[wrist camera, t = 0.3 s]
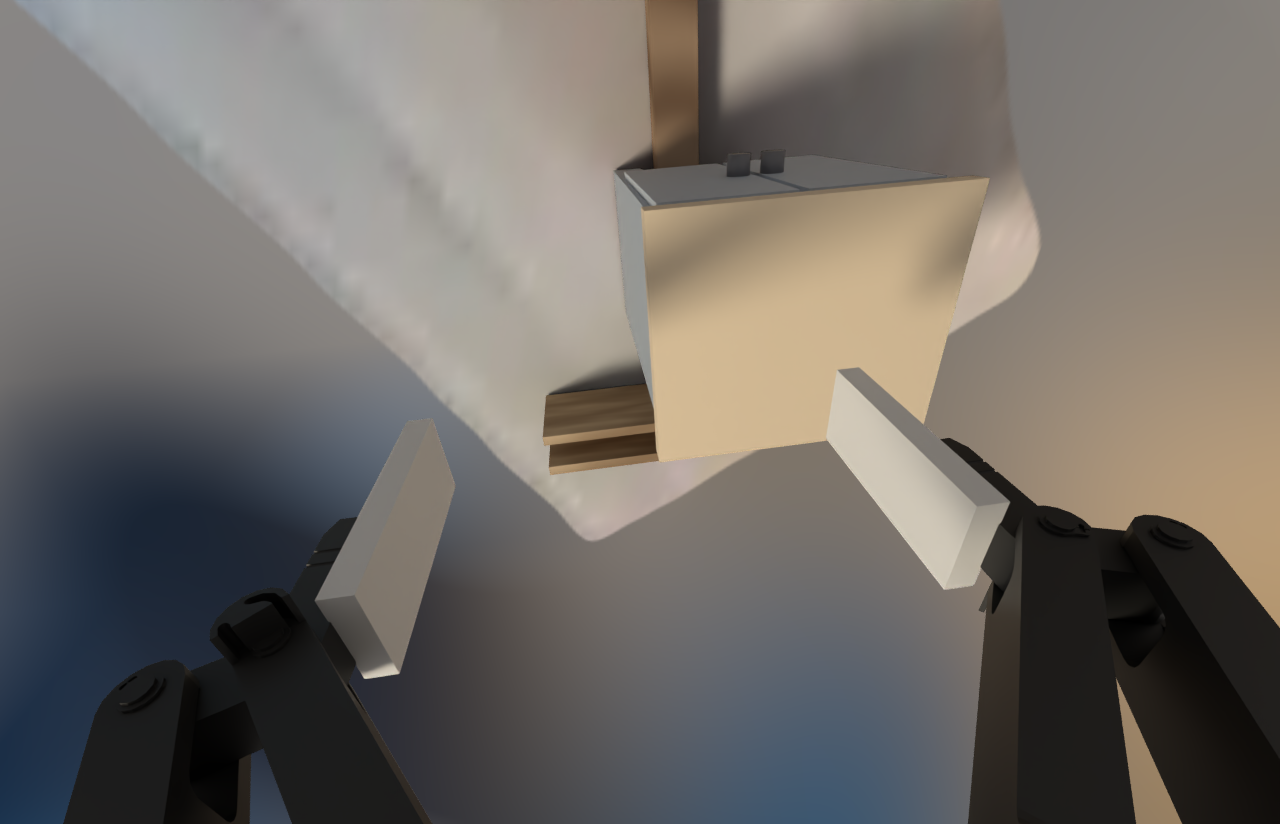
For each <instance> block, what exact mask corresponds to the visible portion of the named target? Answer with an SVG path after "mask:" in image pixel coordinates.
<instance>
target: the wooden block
mask: <svg viewBox="0 0 1280 824" xmlns="http://www.w3.org/2000/svg"><path fill="white" fill-rule="evenodd" d="M645 9H646V29H647V49H648V69H649V89H650V109H651V129H652V149H653V169H659V168H670V167H681V166H692V165H699V122H698V0H645Z"/></svg>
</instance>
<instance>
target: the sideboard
mask: <svg viewBox="0 0 1280 824" xmlns="http://www.w3.org/2000/svg"><path fill="white" fill-rule="evenodd" d="M989 180H990V178H987V177H980V176H973V175H972V176H962V177H951V178H947V175H940V174H934V173H927V172H921V171H914V170H908V169H901V168H895V167H888V166H882V165H875V164H869V163H862V162H856V161H849V160H843V159H836V158H830V157H823V156H817V155H804V156H793V157H785V150H766V151H761V159H759V160H751V153H733V154H727V162H726V163H722V165H720V164H717V163H715V164H703V165H692V166H681V167H670V168H659V169H648V170H642V169H641V168H637V169H626V170H615V171H614V182H615V193H616V205H617V216H618V227H619V239H620V250H621V262H622V273H623V284H624V296H625V307H626V314H627V318H628V321H629V325H630V328H631V332H632V335H633V338H634V342H635V345H636V349H637V352H638V356H639V359H640V363H641V366H642V370H643V373H644V377H645V380H646V384H647V387H648V390H649V394H650V397H651V401H652V404H653V408H654V420H655V435H656V451H657V455H658V459H659V462H666V461H674V460H681V459H689V458H697V457H704V456H712V455H720V454H727V453H735V452H743V451H750V450H758V449H765V448H773V447H781V446H788V445H796V444H804V443H811V442H819V441H826V440H827V439H826V434H827V428H828V422H829V416H830V410H831V403H832V397H833V391H834V385H835V379H836V372H837V370H840V369H848V368H857V367H859V368H861V369H862V370H863V371H864V372H865V373H866V374H867V375H868V376H870V377H871V378H872V379H873V380H874V381H875V382H876V383H877V384H879V385H880V386H881V387H882V388H883V389H884V390H885V391H886V392H888V393H889V394H890V395H891V396H892V397H893V398H894V399H895V400H897V401H898V402H899V403H900V404H901V405H902V406H903V407H904V408H906V409H907V410H908V411H909V412H910V413H911V414H912V415H913V416H914V417H916V418H917V419H918V420H919V421H920V422H921V423H922V424H924V421H925V417H926V413H927V410H928V406H929V402H930V399H931V395H932V391H933V387H934V384H935V380H936V376H937V372H938V369H939V365H940V362H941V358H942V354H943V350H944V347H945V343H946V339H947V336H948V332H949V328H950V325H951V321H952V317H953V313H954V310H955V306H956V302H957V299H958V295H959V291H960V288H961V284H962V280H963V277H964V273H965V269H966V265H967V262H968V258H969V254H970V251H971V247H972V243H973V240H974V236H975V232H976V228H977V225H978V221H979V217H980V214H981V210H982V206H983V203H984V199H985V195H986V191H987V188H988V184H989Z"/></svg>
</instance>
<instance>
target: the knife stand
mask: <svg viewBox="0 0 1280 824" xmlns="http://www.w3.org/2000/svg"><path fill="white" fill-rule="evenodd" d="M543 441H544V446H546V445H550V458H549V470H550V475H554V474H561V473H569V472H577V471H584V470H592V469H600V468H607V467H615V466H623V465H630V464H638V463H646V462H653V461H659V459H658V455H657V451H656V435H655V420H654V408H653V404H652V401H651V397H650V394H649V390H648V387H647V384H639V385H631V386H622V387H614V388H606V389H597V390H589V391H580V392H572V393H564V394H555V395H547V396H546V405H545V417H544V429H543Z"/></svg>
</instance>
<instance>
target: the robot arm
mask: <svg viewBox="0 0 1280 824" xmlns="http://www.w3.org/2000/svg"><path fill="white" fill-rule="evenodd" d="M826 439H827V440H828V441H829V443H830V444H831V445H832V447H833V448H834V449H835V450H836V452H837V453H838V454H839V456H840V457H841V458H842V459H843V461H844V462H845V463H846V465H848V467H849V468H850V470H851V471H852V472H853V473H854V475H855V476H856V477H857V479H858V480H859V481H860V482H861V484H862V485H863V486H864V487H865V489H866V490H867V491H868V493H869V494H870V495H871V497H872V498H873V499H874V500H875V501H876V503H877V504H878V506H879V507H880V508H881V509H882V511H883V512H884V513H885V514H886V516H887V517H888V518H889V520H890V521H891V522H892V523H893V525H894V526H895V527H896V529H897V530H898V531H899V532H900V534H901V535H902V536H903V538H904V539H905V540H906V541H907V543H908V544H909V545H910V546H911V548H912V549H913V550H914V552H915V553H916V554H917V555H918V557H919V558H920V559H921V561H922V562H923V563H924V564H925V566H926V567H927V568H928V570H929V571H930V572H931V573H932V575H933V576H934V577H935V579H936V580H937V581H938V582H939V584H940V585H941V586H942V587H943V589H944V590H946V589H953V588H960V587H966V586H972V585H974V583H975V581H976V579H977V577H978V574H979V572H980V570H981V568H982V569H983V570H984V572H985V573H986V574H987V575H988V576H989V577H990V578H991V579H992V583H991V585H990V587H989V589H988V591H987V593H986V596H985V598H984V600H983V602H982V604H981V606H980V608H979V611H981V612H984V611H985V609H986V619H985V630H984V642H983V654H982V666H981V677H980V689H979V701H978V713H977V725H976V736H975V748H974V760H973V772H972V783H971V795H970V806H969V819H968V824H1136V820H1135V813H1134V806H1133V798H1132V791H1131V784H1130V777H1129V769H1128V762H1127V755H1126V748H1125V740H1124V734H1123V727H1122V719H1121V712H1120V704H1119V697H1118V690H1117V683H1116V678H1117V680H1118V683H1119V685H1120V687H1121V689H1122V692H1123V694H1124V696H1125V698H1126V700H1127V703H1128V705H1129V707H1130V709H1131V711H1132V713H1133V716H1134V718H1135V720H1136V723H1137V724H1138V727H1139V729H1140V731H1141V733H1142V736H1143V738H1144V740H1145V742H1146V745H1147V747H1148V749H1149V751H1150V754H1151V756H1152V758H1153V760H1154V762H1155V765H1156V767H1157V769H1158V771H1159V773H1160V776H1161V778H1162V780H1163V782H1164V785H1165V787H1166V789H1167V791H1168V793H1169V795H1170V798H1171V800H1172V802H1173V804H1174V807H1175V809H1176V811H1177V813H1178V816H1179V818H1180V820H1181V822H1182V824H1280V628H1279V626H1278V625H1277V624H1276V623H1275V621H1274V620H1273V619H1272V618H1271V616H1270V615H1269V614H1268V613H1267V611H1266V610H1265V609H1264V607H1263V606H1262V605H1261V604H1260V602H1258V600H1257V599H1256V597H1255V596H1254V595H1253V594H1252V592H1251V591H1250V590H1249V589H1248V587H1247V586H1246V585H1245V584H1244V582H1243V581H1242V580H1241V579H1240V577H1239V576H1238V575H1237V574H1236V572H1235V571H1234V570H1233V568H1232V567H1231V566H1230V565H1229V564H1228V562H1227V561H1226V560H1225V558H1224V557H1223V556H1222V555H1221V554H1220V552H1219V551H1218V550H1217V548H1216V547H1215V546H1214V545H1213V543H1212V542H1211V541H1209V540H1208V539H1207V538H1206V537H1205V536H1204V535H1203V534H1202V533H1200V532H1198V531H1197V530H1195V529H1193V528H1192V527H1190V526H1188V525H1186V524H1184V523H1182V522H1178V521H1176V520H1173V519H1170V518H1166V517H1161V516H1157V515H1142V516H1138V517H1135V518H1134V519H1133V521H1132V522H1131V524H1130V526H1129V527H1128V529H1127V530H1126V531H1122V530H1112V529H1102V528H1091V527H1090V526H1089V525H1088V524H1087V523H1086V522H1085V521H1084V520H1082V519H1081V518H1079V517H1077V516H1076V515H1074V514H1072V513H1070V512H1067V511H1065V510H1062V509H1059V508H1055V507H1050V506H1037V505H1036V504H1035V503H1033V501H1031V500H1030V499H1029V498H1028V497H1027V496H1025V495H1024V494H1023V493H1022V492H1021V491H1020V490H1018V489H1017V488H1016V487H1015V486H1014V485H1013V484H1011V483H1010V482H1009V481H1008V480H1007V479H1005V478H1004V477H1003V476H1002V475H1001V474H999V473H998V472H995V471H994V468H992V467H991V466H990V465H989V464H988V463H986V462H983V459H982V458H981V457H979V456H978V455H977V454H976V453H975V452H974V451H972V450H971V449H970V448H969V447H967V446H965V445H962V444H961V443H959V442H957V441H955V440H953V439H951V438H945V439H939V438H938V437H937V436H936V435H935V434H934V433H932V432H931V431H930V430H929V429H928V428H927V427H926V426H925V425H923V424H922V423H921V422H920V421H919V420H918V419H917V418H916V417H914V416H913V415H912V414H911V413H910V412H909V411H908V410H907V409H906V408H904V407H903V406H902V405H901V404H900V403H899V402H898V401H897V400H895V399H894V398H893V397H892V396H891V395H890V394H889V393H888V392H886V391H885V390H884V389H883V388H882V387H881V386H880V385H879V384H877V383H876V382H875V381H874V380H873V379H872V378H871V377H870V376H868V375H867V374H866V373H865V372H864V371H863V370H862V369H861V368H859V367H857V368H848V369H840V370H837V372H836V379H835V385H834V391H833V397H832V403H831V410H830V416H829V422H828V428H827V434H826ZM454 489H455V483H454V480H453V477H452V474H451V471H450V468H449V466H448V463H447V460H446V457H445V454H444V451H443V448H442V445H441V442H440V439H439V436H438V434H437V431H436V428H435V425H434V422H433V419H432V418H430V419H423V420H414V421H407V423H406V425H405V427H404V428H403V430H402V432H401V434H400V436H399V438H398V440H397V442H396V444H395V446H394V448H393V450H392V452H391V454H390V456H389V458H388V459H387V461H386V463H385V465H384V467H383V469H382V471H381V473H380V475H379V477H378V479H377V481H376V483H375V485H374V487H373V489H372V490H371V493H370V494H369V496H368V498H367V500H366V502H365V504H364V506H363V508H362V510H361V512H360V514H359V516H358V517H355V518H347V519H340V520H339V521H338V522H337V523H336V524H335V525H334V526H333V527H331V528H330V529H329V530H328V531H327V532H326V533H325V534H324V535H323V537H322V539H321V540H320V542H319V544H318V546H317V547H316V549H315V551H314V554H313V555H312V556H311V558H310V560H309V561H308V563H307V568H304V570H303V572H302V573H301V575H300V577H299V579H298V580H297V582H296V584H295V586H294V587H293V589H292V591H291V593H290V594H288V593H287V592H286V591H284V590H283V589H280V588H267V589H263V590H258V591H255V592H253V593H251V594H249V595H246V596H245V597H242V598H241V599H239V600H238V601H236V602H235V603H233V604H232V605H230V606H229V607H228V608H227V609H226V610H225V611H224V612H223V613H222V614H221V615H220V616H219V617H218V618H217V619H216V621H215V623H214V624H213V626H212V628H211V630H210V641H211V642H212V643H213V644H214V646H215V647H216V648H217V649H218V650H219V651H220V652H221V654H222V655H223V656H224V658H221V659H219V660H216V661H214V662H211V663H209V664H206V665H204V666H201V667H199V668H196V669H194V670H191V671H189V670H188V669H187V668H186V666H185V665H183V664H182V663H180V662H178V661H177V660H164V661H160V662H157V663H154V664H151V665H148V666H146V667H144V668H143V669H141V670H139V671H137V672H135V673H133V674H132V675H130V676H129V677H128V678H126V679H125V680H124V681H122V682H121V683H120V684H119V685H117V686H116V687H115V688H114V689H113V690H112V691H111V692H110V693H109V694H108V695H107V697H106V698H105V699H104V700H103V701H102V703H101V704H100V706H99V708H98V710H97V712H96V714H95V716H94V720H93V723H92V727H91V730H90V734H89V737H88V741H87V744H86V747H85V751H84V754H83V758H82V761H81V765H80V768H79V771H78V775H77V779H76V782H75V785H74V789H73V792H72V795H71V799H70V802H69V806H68V810H67V813H66V816H65V820H64V823H63V824H249V823H250V822H249V821H250V781H251V778H250V777H251V754H252V753H254V752H256V751H258V750H261V749H263V748H264V751H265V754H266V756H267V759H268V761H269V764H270V767H271V769H272V772H273V774H274V777H275V780H276V782H277V785H278V788H279V790H280V793H281V795H282V798H283V801H284V804H285V806H286V809H287V811H288V814H289V817H290V819H291V822H292V824H432V822H431V820H430V819H429V817H428V815H427V814H426V812H425V810H424V809H423V807H422V805H421V803H420V802H419V800H418V798H417V797H416V795H415V794H414V792H413V790H412V788H411V786H410V785H409V783H408V781H407V780H406V778H405V776H404V775H403V773H402V771H401V769H400V768H399V766H398V764H397V763H396V761H395V759H394V758H393V756H392V754H391V752H390V751H389V749H388V747H387V746H386V744H385V742H384V740H383V739H382V737H381V735H380V734H379V732H378V730H377V729H376V727H375V725H374V724H373V722H372V720H371V718H370V717H369V715H368V713H367V712H366V710H365V708H364V706H363V705H362V703H361V701H360V700H359V698H358V697H357V695H356V693H355V691H354V689H353V688H352V686H351V685H350V683H349V680H350V678H351V675H352V672H353V670H354V667H355V665H356V666H357V667H358V669H359V671H360V672H361V674H362V675H363V677H364V678H365V679H367V678H374V677H381V676H387V675H394V674H399V673H400V669H401V667H402V663H403V660H404V656H405V653H406V650H407V647H408V643H409V640H410V636H411V633H412V630H413V626H414V623H415V620H416V616H417V613H418V610H419V606H420V603H421V600H422V596H423V593H424V590H425V586H426V583H427V579H428V576H429V573H430V569H431V566H432V563H433V560H434V556H435V553H436V549H437V546H438V543H439V539H440V536H441V533H442V529H443V526H444V523H445V520H446V516H447V513H448V509H449V506H450V503H451V499H452V496H453V493H454Z"/></svg>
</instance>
